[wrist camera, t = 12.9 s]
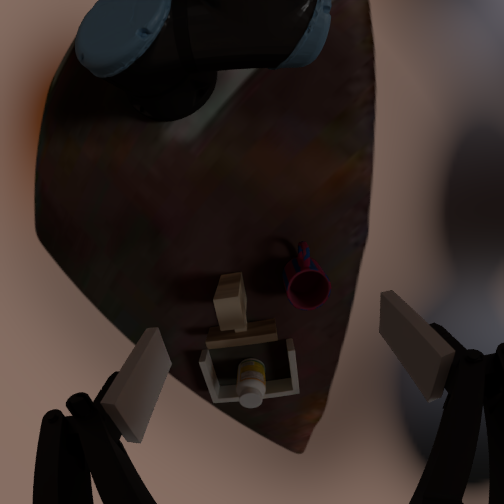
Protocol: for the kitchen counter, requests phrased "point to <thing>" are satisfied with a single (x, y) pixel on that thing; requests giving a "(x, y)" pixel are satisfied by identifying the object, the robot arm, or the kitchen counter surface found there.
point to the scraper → (236, 317)
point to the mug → (305, 281)
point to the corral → (229, 391)
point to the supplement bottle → (251, 382)
